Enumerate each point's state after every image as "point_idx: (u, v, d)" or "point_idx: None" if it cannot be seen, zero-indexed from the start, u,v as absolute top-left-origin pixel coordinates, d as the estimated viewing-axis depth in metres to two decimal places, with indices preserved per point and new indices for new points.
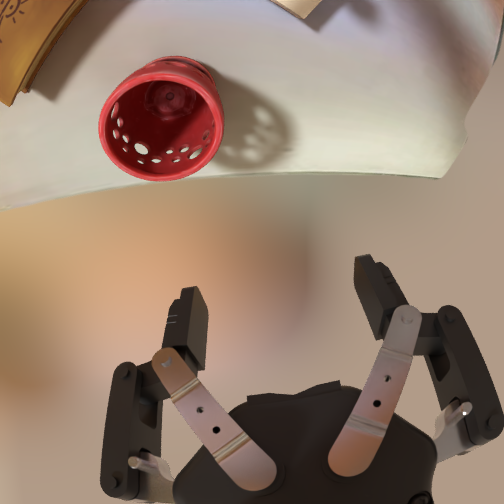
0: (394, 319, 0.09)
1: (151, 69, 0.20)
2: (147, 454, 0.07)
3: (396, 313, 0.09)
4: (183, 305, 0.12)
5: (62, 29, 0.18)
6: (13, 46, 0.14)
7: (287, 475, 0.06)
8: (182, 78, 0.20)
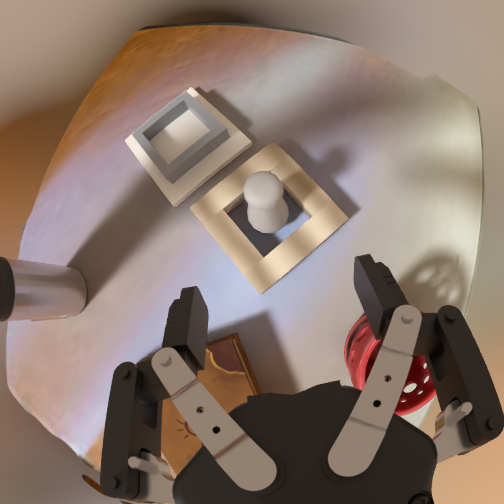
0: (394, 319, 0.09)
1: (358, 355, 0.27)
2: (147, 454, 0.07)
3: (396, 312, 0.09)
4: (183, 305, 0.12)
5: None
6: None
7: (287, 475, 0.06)
8: None
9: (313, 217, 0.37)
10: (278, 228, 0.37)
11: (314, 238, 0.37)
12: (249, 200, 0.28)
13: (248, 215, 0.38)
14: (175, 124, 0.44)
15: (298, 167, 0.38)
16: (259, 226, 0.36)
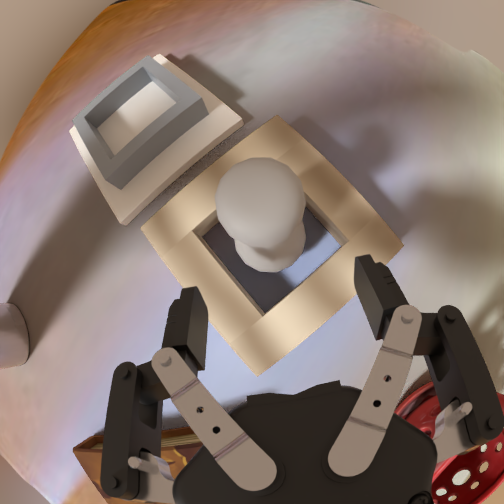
0: (394, 319, 0.09)
1: None
2: (147, 454, 0.07)
3: (396, 313, 0.09)
4: (183, 305, 0.12)
5: None
6: None
7: (287, 475, 0.06)
8: None
9: (348, 244, 0.21)
10: (288, 265, 0.21)
11: (350, 281, 0.21)
12: (227, 226, 0.12)
13: (235, 242, 0.21)
14: (132, 102, 0.27)
15: (320, 157, 0.22)
16: (255, 263, 0.20)
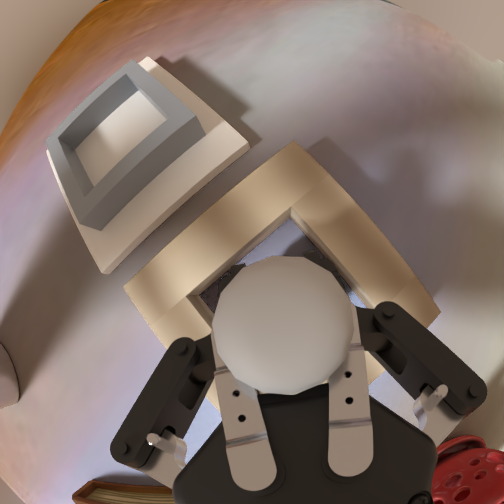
0: None
1: None
2: (170, 434, 0.08)
3: None
4: None
5: None
6: None
7: (287, 475, 0.06)
8: None
9: None
10: None
11: None
12: (233, 372, 0.07)
13: None
14: (114, 117, 0.23)
15: (350, 201, 0.17)
16: None
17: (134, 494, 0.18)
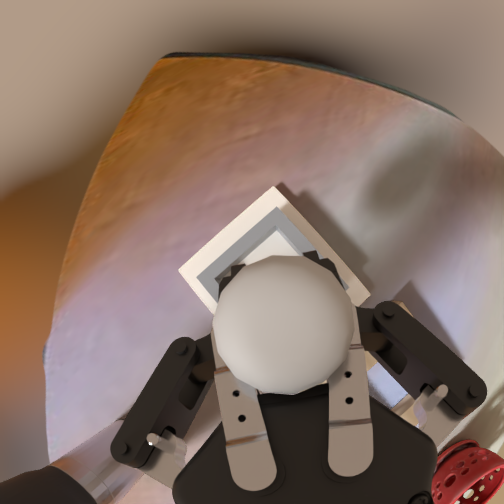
0: None
1: (446, 500, 0.17)
2: (170, 434, 0.08)
3: None
4: None
5: None
6: None
7: (287, 475, 0.06)
8: (466, 489, 0.15)
9: None
10: None
11: None
12: (234, 372, 0.07)
13: None
14: (259, 256, 0.33)
15: None
16: None
17: None
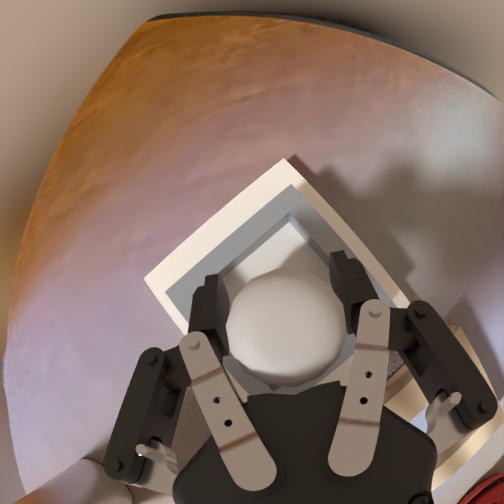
0: (361, 313, 0.10)
1: None
2: (157, 443, 0.08)
3: (363, 309, 0.10)
4: (208, 291, 0.13)
5: None
6: None
7: (286, 475, 0.06)
8: None
9: (476, 431, 0.15)
10: None
11: (469, 453, 0.15)
12: (243, 368, 0.09)
13: None
14: (262, 260, 0.22)
15: (481, 369, 0.17)
16: None
17: None
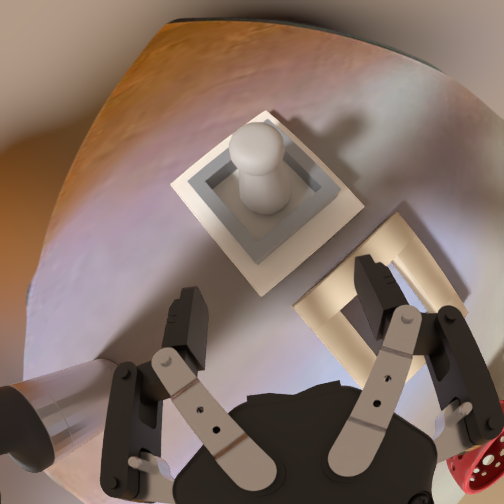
0: (394, 319, 0.09)
1: (470, 457, 0.16)
2: (147, 454, 0.07)
3: (396, 312, 0.09)
4: (183, 305, 0.12)
5: None
6: None
7: (287, 475, 0.06)
8: (493, 440, 0.15)
9: None
10: (279, 208, 0.28)
11: None
12: (236, 159, 0.19)
13: (240, 191, 0.29)
14: None
15: (426, 251, 0.27)
16: (254, 204, 0.27)
17: None
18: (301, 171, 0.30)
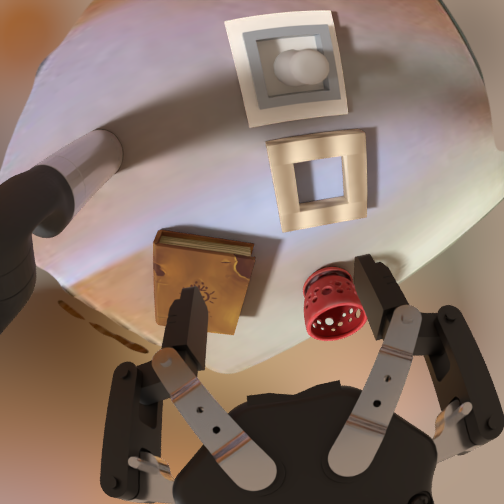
0: (394, 319, 0.09)
1: (319, 305, 0.50)
2: (147, 454, 0.07)
3: (396, 313, 0.09)
4: (183, 305, 0.12)
5: None
6: (221, 312, 0.58)
7: (287, 475, 0.06)
8: (336, 305, 0.48)
9: (347, 204, 0.46)
10: (295, 86, 0.33)
11: (338, 217, 0.48)
12: (293, 69, 0.24)
13: (276, 61, 0.30)
14: (292, 43, 0.31)
15: (365, 165, 0.42)
16: (281, 77, 0.31)
17: (194, 241, 0.52)
18: None
